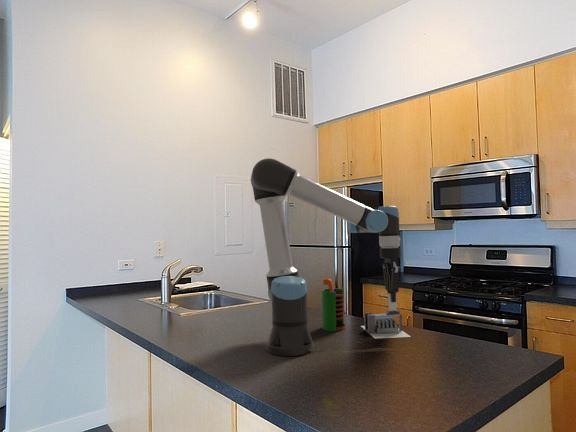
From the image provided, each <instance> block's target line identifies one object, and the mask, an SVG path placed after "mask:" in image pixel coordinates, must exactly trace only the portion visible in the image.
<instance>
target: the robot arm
mask: <svg viewBox="0 0 576 432" xmlns="http://www.w3.org/2000/svg"><path fill="white" fill-rule="evenodd" d="M250 183H251V187H252V193H253V197H254V198H253V199H254V203H256V204H257V205H259V209H260V216H261V222H262V228H263V237H264V241H265V248H266V256H267V262H268V268H269V270H268V272H267V274H266V282H267V289H268V291H267V293H268V298H269V300H270V302H271V324H272V325H271V329H270V334H269V337H268V341H267V352H269V353H270V354H272V355H275V356H281V357H282V356H283V357H293V356H295V357H296V356H303V355H306V354H310V353H312V349H313V348H314V341H313V338H312V336H311V332H310V329H309V326H308V303H307V302H308V300H307V299H308V298H307V292H308V287H307V281H306V280H305V279H304V278H303V277H299V270H298V269H297V268H295V266H294V265H293V259H292V253H291V246H290V240H289V239H290V238H289V232H288V227H287V221H286V216H285V215H286V214H285V208H284V200H285V199H286V198H287V196H291V197H294V198H295V199H296V200H297V199H298V200H300V201H301V202H304V203H306V204H308V205H311V206H312V207H315V208H317V209H320V210H321V211H324V212H326V213H328V214H331V216H332V215H333V216H335V217H337V218H339V219H341V220H344V221H346V228H347V231H348V232H349V233H351V234H352V233H354V234H358V233H371V234H372V233H374V234H378V239H379V240H378V244H379V247H380V248H379V257H380V258H381V259H384V263H383V264H381V265H382V267H381V268H382V272H383V279H384V289H385V291H386V292H387V304H388V311H397V310H398V303H397V293H399V289H400V287H399V286H400V283H399V282H400V272H401V266H398V262H397V259H399V258H401V256H402V255H401V254H402V253H401V252H402V251H401V248H400V246H401V240H402V238H401V237H400V212H399V208H398V207H397V206H396V205H386V206H378V208H377V209H373V208H371V207H369V206H367V205H365V204H363V203H360V202H358V201H357V200H354V199H352V198H351V197H347V196H345V195H344V194H342V193H339V192H338V191H335V190H332V189H330V188H329V187H326V186H324V185H322V184H320V183H317V182H316V181H313V180H311V179H309V178H307V177H306V176H305V177H304V176H303V175H301V174H299V172H298V170H297V169H295V168H293V167H291V166H289V165H287V164H285V163H283V162H281V161H279V160H277V159H274V158H263V159H261V160H259V161H257V162H256V163H255V165H253V168H252V171H251V175H250Z"/></svg>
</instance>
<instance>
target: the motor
mask: <svg viewBox="0 0 576 432" xmlns="http://www.w3.org/2000/svg"><path fill="white" fill-rule="evenodd" d="M322 281H323V286H324V285H327V286H328V288H323V289H321V316H322V317H321V321H322V322H321V329H322V331H325V332H326V331H327V332H334V333H336V332H339V331H344V330H346V324H345V302H344V300H345V297H344V296H345V293H344V288H335V287H334V284H333V280H332V279H331V278H324V279H323V280H322Z"/></svg>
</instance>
